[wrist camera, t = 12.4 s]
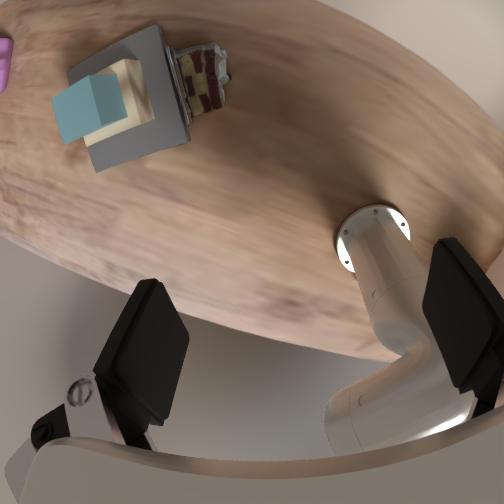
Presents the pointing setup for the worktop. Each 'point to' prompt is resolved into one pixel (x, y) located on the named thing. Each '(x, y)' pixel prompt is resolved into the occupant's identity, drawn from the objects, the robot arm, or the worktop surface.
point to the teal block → (89, 106)
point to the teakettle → (5, 61)
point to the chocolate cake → (199, 77)
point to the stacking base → (158, 93)
